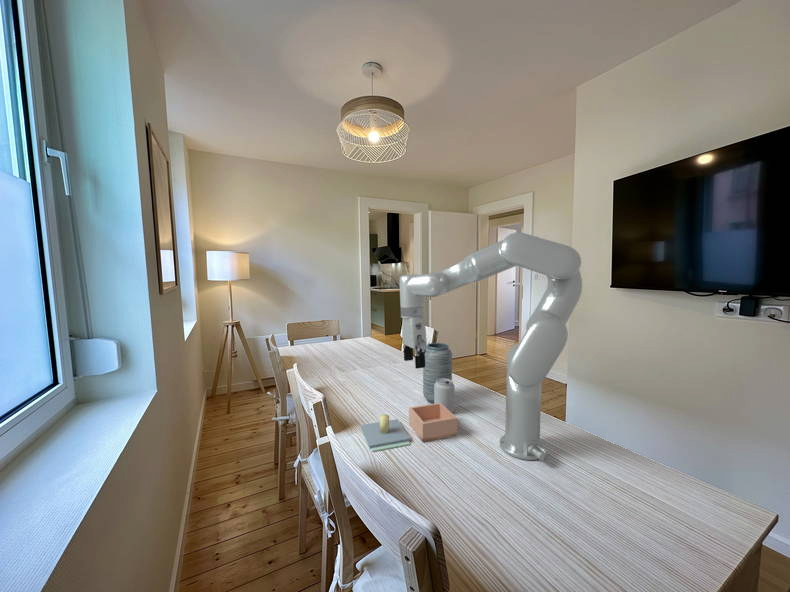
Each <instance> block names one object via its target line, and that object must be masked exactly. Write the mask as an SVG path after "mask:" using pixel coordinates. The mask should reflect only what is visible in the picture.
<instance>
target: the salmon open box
mask: <svg viewBox="0 0 790 592" xmlns="http://www.w3.org/2000/svg"><path fill="white" fill-rule="evenodd" d="M408 425H409V426H410V428H411V427H412V428H411V429H412V431H413V432H414V431H415V432H414V433H415V435H416V436H417V437H418V438H419V440H420V441H421V443H427V442H433V441H437V440H438V441H439V440H442V439H443V440H444V439H449V438H455V437H458V417H457V416H456V415H455V414H454V413H453V412H452V413H451V412H450V411H449V410H448V409H447V408H446V407H445V406H443V405H442V404H441V403H436V404H431V403H429V404H424V405H418V406H416V405H415V406H410V407H408Z"/></svg>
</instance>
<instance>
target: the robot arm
mask: <svg viewBox="0 0 790 592" xmlns="http://www.w3.org/2000/svg"><path fill="white" fill-rule="evenodd" d="M581 266H582V257H581V255H580V253H579V252H578V251H577V250H576V249H575V248H573V247H571V246H569V245H565V244H562V243H558V242H555V241H552V240H549V239H545V238H542V237H538V236H535V235H531V234H529V233H525V232H522V231H521V232H512V233H509V234H508V235H506V237H504V238H503V239H502V240H500V241H498V242H495V243H493V244H491V245H489V246H486V247H483V248H482V249H479V250H477V251H474V252H472V253H470V254H468V255H467V256H466V257H465V258H464V259H463V260H461V261H459V262H458V263H456V264H454V265H452V266H449V267H447V268H445V269H443V270H440V271H438V272H430V273H425V274H418V273H417V274H415V273H414V274H402V275H401V276H399V280H398V281H399V300H400V301H399V303H400V318H402V328H401V330H402V331H401V334H402V344H403V346H402V348H403V361H405V362H406V361H408V362H409V361H413V360H414V366H415V369H423V368H424V367H425V352H426V348H427V345H428V344H427V341H428V340H427V330H426V323H425V322H426V321H425V318H424V317H425V314H424V313H425V312H424V311H425V309H424V306H425V305H424V297H425V298H436V297H440V296H442V295H445V294H446V293H449V292H452V291H455V290H457V289H459V288H462V287H463V286H467V285H469V284H473V283H478V282H480V281H482V280H485V279H487V278H491V277H492V276H495V275H498V274H500V273H502V272H505V271H507V270H510V269H513V268H515V267H520V268H523V269H526V270H529V271H531V272H535V273H538V274H541V275H545V276H546V278H547V285H546V289H545V292H544V293H543V295H542V297H541V300H540V301H539V302H538V304H537V306H536V308H535V309H534V311H533V312H532V313H531V315H530V317H529V318H528V320H527V322H526V324H525V331H526V332H525V333H524V335H523V337H522V338H521V340H520V342H518V343H515V344H514V345H512V346H511V347H510V348H509V350H508V351H507V354H506V388H505V389H506V390H505V391H506V395H505V431H504V434H503V435H502V436H501V437H500V438H499V446H500V448H501V449H502V451H504V452H505V453H506V454H508V455H510V456H511V457H514V458H517V459H520V460H526V461H534V460H535V461H536V460H540V461H541V462H542V461H544V460H545V458H546V456H549V455H548V454H549V451H548V450H547V449H546V446H545V445H544V443H543V439H541V438H540V437H541V416H542V415H541V413H542V411H541V410H542V409H541V408H542V392H543V391H542V390H543V388H542V387H543V386H542V385H543V383H542V382H543V381H544V380H545V379H546V377H548V375H549V373H550V371H551V369H552V367H554V365H555V363H556V361H557V360H558V358H559V356H560V355H561V354H562V352H563V351H564V348H565V346H566V344H567V342H568V338H569V331H568V328H567V323H568V321H569V320H570V317H571V315H572V314H573V312H574V311H575V308H576V306H577V305H578V302H579V301H580V299H581V296H582V291H583V278H582V275H581V271H580V268H581ZM414 352H415V355H414Z"/></svg>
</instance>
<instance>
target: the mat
mask: <svg viewBox="0 0 790 592" xmlns="http://www.w3.org/2000/svg"><path fill="white" fill-rule="evenodd" d="M371 423H372V422H371ZM371 423H369V424H371ZM410 442H411V441H407V442H401V443H396V444H390V445H385V446H380V447H374V448H370V450H371V452H372V453H374V452H380V451H385V450H391V449H394V448H402V447H406V446H410V445H411V444H412V443H410Z"/></svg>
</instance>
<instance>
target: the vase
mask: <svg viewBox="0 0 790 592" xmlns="http://www.w3.org/2000/svg"><path fill="white" fill-rule="evenodd" d="M422 377H423V378H422V394H423V395H422V396H423V397H424V398H425V400H426V401H427V402H428V403H429V404H434V384H435V383H436V380H437V379H440V378H446V379H450V380H452V381H453V352H452V350H451V349H450V348H449V345H448V344H447V343H442V342H431V343H428V344H427V346H426V352H425V367H424V368H422Z"/></svg>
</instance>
